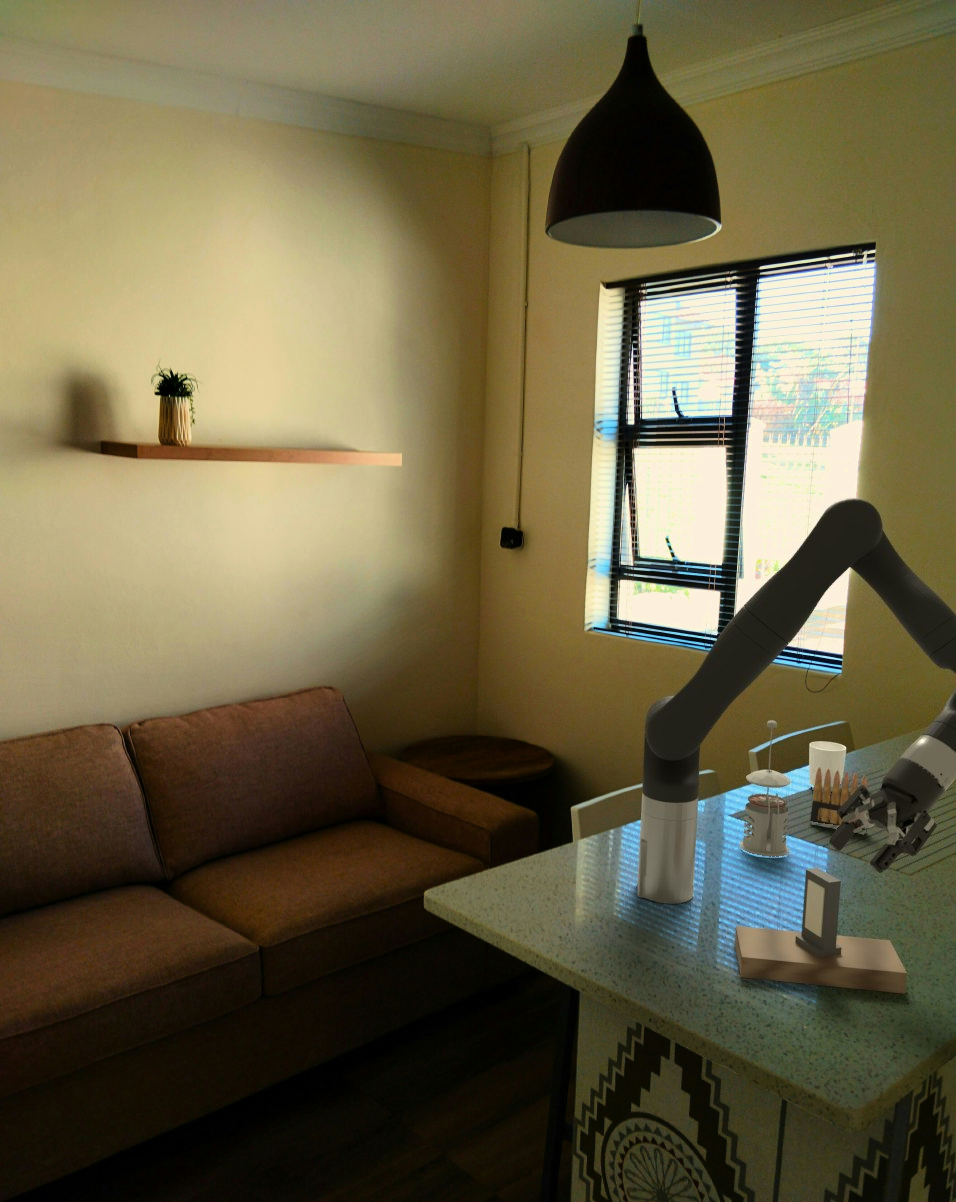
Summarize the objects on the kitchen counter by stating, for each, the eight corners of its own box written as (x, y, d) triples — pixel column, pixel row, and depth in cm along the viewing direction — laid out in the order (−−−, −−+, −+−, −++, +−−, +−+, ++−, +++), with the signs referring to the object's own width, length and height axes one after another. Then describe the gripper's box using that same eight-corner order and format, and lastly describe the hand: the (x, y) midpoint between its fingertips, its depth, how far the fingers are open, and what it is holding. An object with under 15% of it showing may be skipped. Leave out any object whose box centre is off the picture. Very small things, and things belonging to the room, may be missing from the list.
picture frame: (818, 958, 143) (823, 883, 141) (795, 942, 147) (800, 870, 146) (841, 954, 144) (846, 880, 143) (817, 938, 149) (822, 866, 147)
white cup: (846, 787, 232) (849, 745, 231) (838, 796, 225) (841, 752, 224) (811, 781, 236) (814, 739, 235) (802, 790, 229) (805, 746, 228)
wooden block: (740, 977, 143) (742, 957, 143) (734, 945, 153) (735, 926, 152) (905, 993, 139) (906, 973, 139) (888, 959, 149) (889, 940, 149)
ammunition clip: (866, 833, 203) (870, 774, 201) (864, 835, 201) (868, 777, 199) (811, 822, 208) (815, 765, 207) (809, 824, 207) (813, 767, 205)
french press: (785, 841, 197) (793, 715, 194) (798, 864, 185) (807, 730, 182) (733, 838, 198) (741, 713, 194) (743, 861, 186) (751, 728, 183)
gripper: (874, 744, 154) (807, 825, 151) (948, 771, 140) (875, 860, 138) (899, 776, 156) (833, 855, 154) (974, 805, 143) (903, 892, 140)
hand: (853, 857), depth 146 cm, fingers open, 8 cm apart
